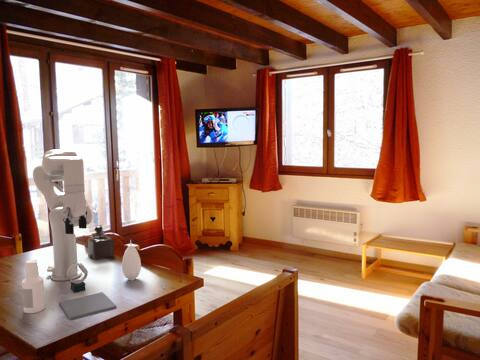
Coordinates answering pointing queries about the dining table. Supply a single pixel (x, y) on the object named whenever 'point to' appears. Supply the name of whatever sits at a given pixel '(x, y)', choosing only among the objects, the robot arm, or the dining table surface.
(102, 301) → the mat
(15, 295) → the dining table surface
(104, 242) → the coffee grinder
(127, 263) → the white eggplant
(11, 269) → the dining table surface
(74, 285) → the watch
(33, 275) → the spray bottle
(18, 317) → the dining table surface
